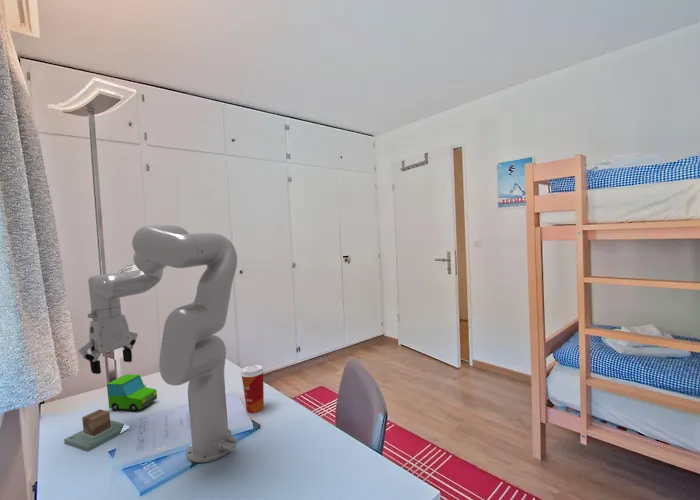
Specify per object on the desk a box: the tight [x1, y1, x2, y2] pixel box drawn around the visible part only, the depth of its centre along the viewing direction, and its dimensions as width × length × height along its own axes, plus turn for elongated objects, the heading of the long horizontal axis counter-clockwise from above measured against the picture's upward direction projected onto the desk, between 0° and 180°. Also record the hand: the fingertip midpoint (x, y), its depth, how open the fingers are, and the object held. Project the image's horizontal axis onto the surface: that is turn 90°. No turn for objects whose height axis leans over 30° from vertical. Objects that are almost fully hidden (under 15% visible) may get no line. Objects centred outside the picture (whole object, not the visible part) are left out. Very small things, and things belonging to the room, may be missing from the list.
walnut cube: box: [81, 409, 111, 436], centre depth 107 cm, size 5×5×5 cm
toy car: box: [106, 374, 158, 413], centre depth 126 cm, size 10×13×10 cm
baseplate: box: [63, 419, 125, 452], centre depth 107 cm, size 12×12×2 cm
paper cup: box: [240, 364, 265, 414], centre depth 118 cm, size 8×8×14 cm
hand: (112, 367), depth 110 cm, fingers open, 9 cm apart
